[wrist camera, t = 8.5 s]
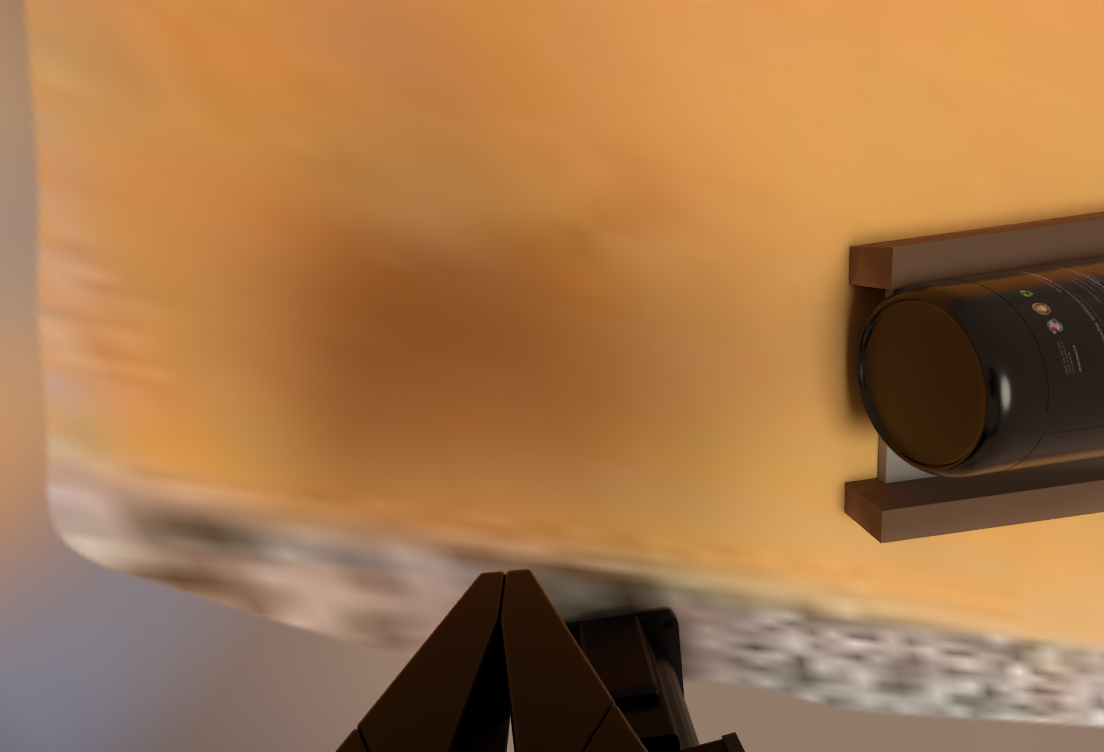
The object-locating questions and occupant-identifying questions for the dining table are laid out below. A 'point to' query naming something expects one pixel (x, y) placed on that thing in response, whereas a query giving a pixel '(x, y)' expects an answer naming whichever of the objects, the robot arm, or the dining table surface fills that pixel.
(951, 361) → the supplement bottle
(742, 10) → the dining table surface
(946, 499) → the cradle
